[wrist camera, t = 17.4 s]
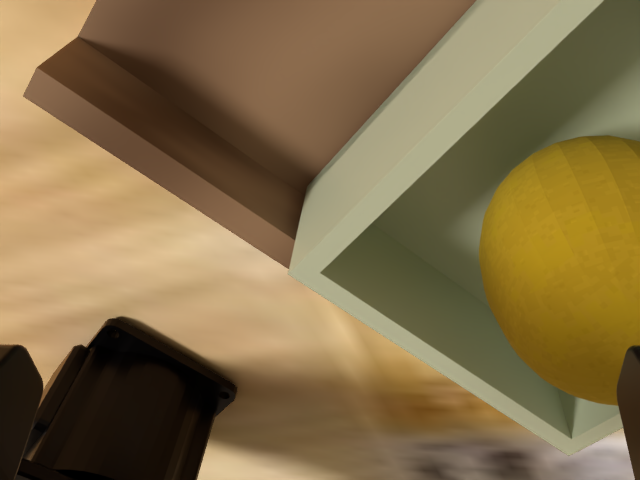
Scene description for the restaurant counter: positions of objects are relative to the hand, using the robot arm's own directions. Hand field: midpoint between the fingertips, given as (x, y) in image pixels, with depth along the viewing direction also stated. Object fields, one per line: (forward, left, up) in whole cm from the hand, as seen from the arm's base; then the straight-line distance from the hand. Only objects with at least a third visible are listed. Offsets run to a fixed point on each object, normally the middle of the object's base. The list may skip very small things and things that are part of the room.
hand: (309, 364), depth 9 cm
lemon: (-6, -2, -10) cm, 12 cm away
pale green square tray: (-6, -2, -11) cm, 12 cm away
